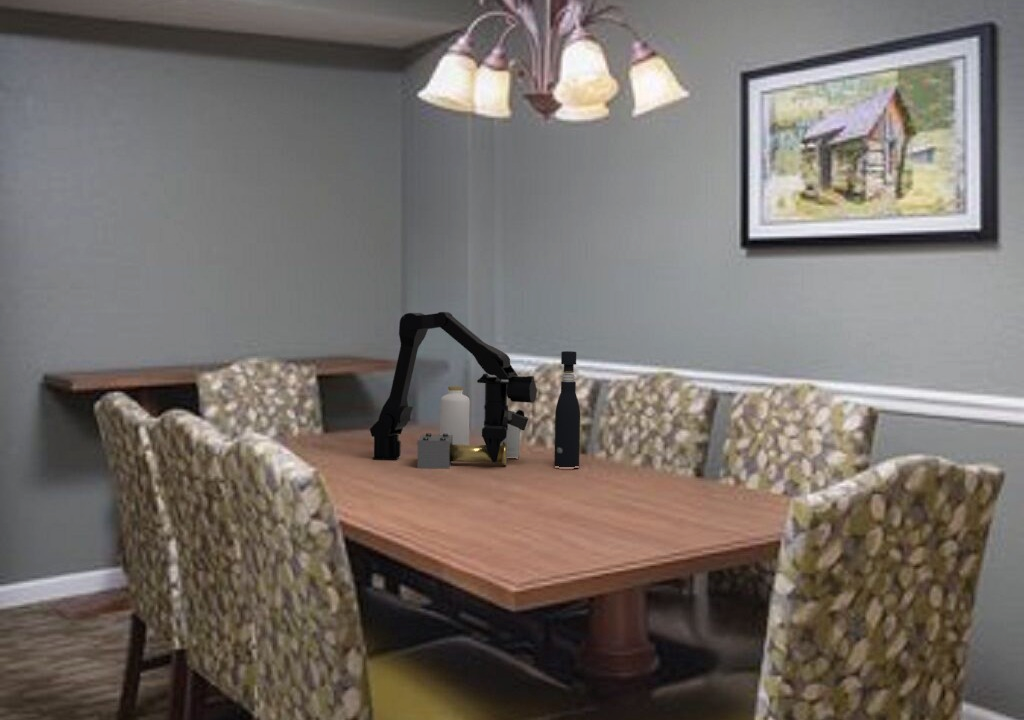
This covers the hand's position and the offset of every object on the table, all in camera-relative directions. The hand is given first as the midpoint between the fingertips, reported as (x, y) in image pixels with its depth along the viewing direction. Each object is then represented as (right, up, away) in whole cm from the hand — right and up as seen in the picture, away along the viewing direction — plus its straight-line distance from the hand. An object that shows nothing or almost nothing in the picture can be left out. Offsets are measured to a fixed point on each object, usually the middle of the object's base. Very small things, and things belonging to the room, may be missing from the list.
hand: (494, 461), depth 292 cm
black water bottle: (+19, -2, -1) cm, 19 cm away
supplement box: (+3, -1, +16) cm, 16 cm away
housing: (-15, -1, 0) cm, 15 cm away
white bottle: (-12, 0, +29) cm, 32 cm away
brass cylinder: (-5, -1, 0) cm, 5 cm away
